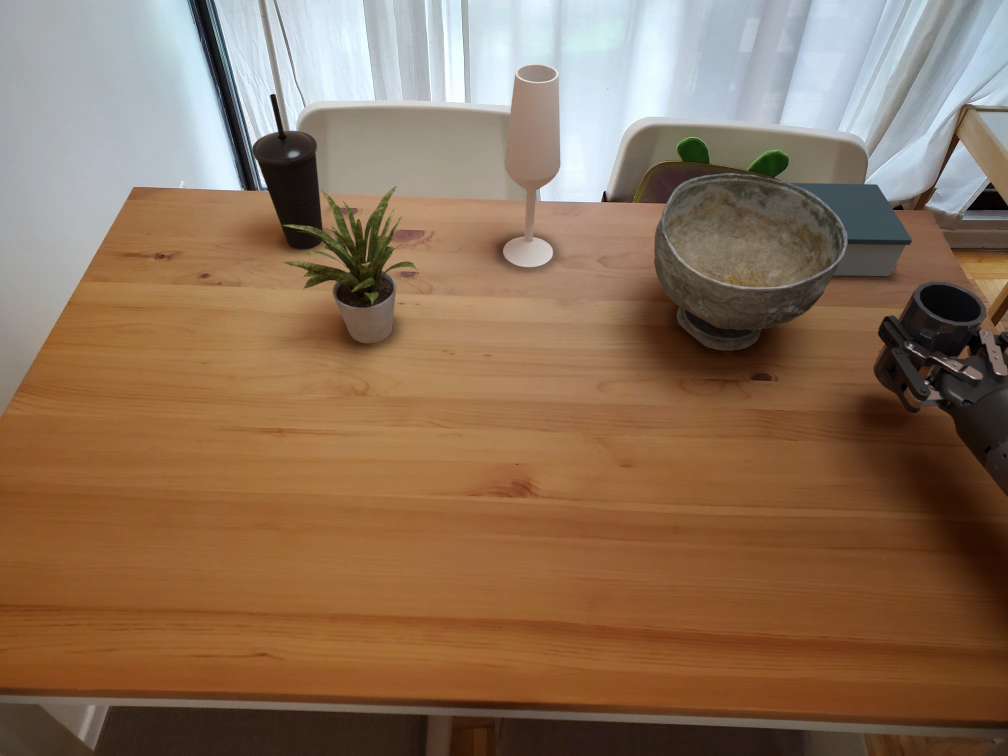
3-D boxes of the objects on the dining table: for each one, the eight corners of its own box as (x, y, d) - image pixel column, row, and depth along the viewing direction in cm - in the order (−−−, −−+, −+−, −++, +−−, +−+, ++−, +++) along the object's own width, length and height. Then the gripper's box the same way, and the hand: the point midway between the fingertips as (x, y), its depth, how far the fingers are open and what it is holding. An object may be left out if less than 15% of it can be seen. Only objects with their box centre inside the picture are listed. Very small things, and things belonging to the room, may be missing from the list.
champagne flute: (541, 273, 93) (553, 92, 75) (494, 258, 95) (495, 79, 77) (561, 244, 97) (577, 67, 79) (515, 231, 99) (521, 55, 81)
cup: (923, 355, 76) (969, 281, 69) (947, 399, 72) (998, 326, 65) (864, 354, 76) (904, 280, 69) (885, 398, 72) (930, 325, 65)
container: (860, 221, 102) (877, 184, 97) (892, 278, 93) (912, 240, 89) (772, 219, 102) (784, 182, 97) (796, 276, 93) (811, 238, 89)
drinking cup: (329, 256, 94) (300, 111, 80) (270, 256, 94) (230, 110, 80) (338, 222, 100) (312, 80, 85) (282, 221, 99) (247, 79, 85)
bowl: (651, 385, 80) (678, 280, 69) (628, 274, 93) (647, 171, 82) (828, 385, 80) (882, 280, 69) (780, 275, 93) (819, 172, 82)
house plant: (349, 272, 92) (328, 156, 80) (448, 297, 89) (442, 181, 77) (289, 344, 83) (255, 227, 71) (397, 376, 80) (381, 258, 68)
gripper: (1135, 408, 58) (999, 278, 69) (978, 435, 56) (864, 297, 67) (1080, 463, 64) (962, 335, 75) (935, 489, 62) (836, 353, 73)
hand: (916, 317), depth 71 cm, fingers closed on cup, 6 cm apart
